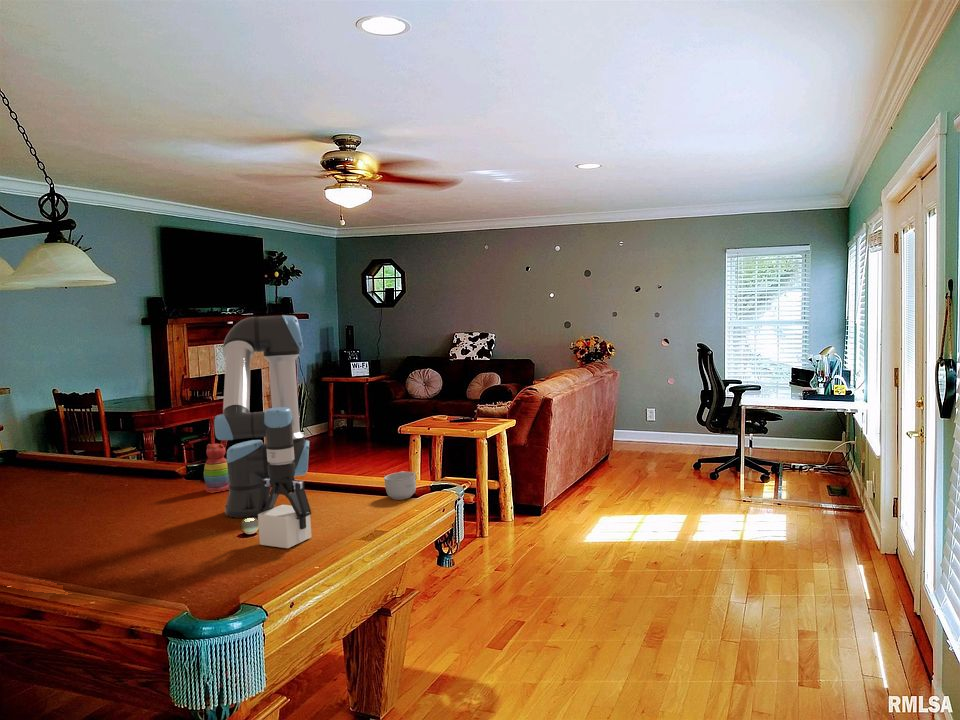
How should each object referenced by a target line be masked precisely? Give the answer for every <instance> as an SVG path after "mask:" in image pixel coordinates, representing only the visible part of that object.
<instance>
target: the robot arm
mask: <svg viewBox="0 0 960 720" xmlns="http://www.w3.org/2000/svg"><path fill="white" fill-rule="evenodd" d="M301 350H304V343H303V338H302V333H301V327H300V324H299V320H298V318H297V317H296V316H295V315H288V314H287V315H285V314H282V315H268V316H250V317H245V318H243V319H241V320H240V321H238V322H237V323H236V324H234V325H233V327H231V328H230V330H229V331H228V333H227V334H226V336H225V338H224V341H223V346H222V353H223V357H224V358H225V364H224V365H225V366H224V367H225V369H224V386H223V388H224V389H223V403H222V405H223V406H222V413H220V414H217V415H216V416H214V423H213V424H214V434H215V438H216V439H217V440H218V441H233V440H234V441H235V440H243V439H251V440H247V441H242V442H239V443H235V444H233V445H232V446H229V447H228V449H226V460H227V461H226V462H227V467H228V481H229V491H228V493H227V494H228V495H227V500H226V505H225V506H224V515H225V514H226V515H227V516H226V515H225V516H226V517H228V516H229V517H228V518H232V517H235V518H234V519H242V518H243V517H246V518H249V517H248V516H254V517H258V514H260V513H262V512H265V511H267V510H270V509H272V508H275V505H276V503H277V499H278V498H279V496H280V495H282V496H284V497H285V498H286V499H288V502H289V503H290V505H291V506H292V507H293V509H294V511H295V513H296V515H297V517H298V518H296V532H297V541H301V540H303V539H305V528H306V516H308V515H310V516H311V515H312V510H311V506H310V503H309V499H308V496H307V494H306V490H305V481H303V480H300V481H296V479H295V477H300V476H305V475H306V474H307V472H308V469H309V454H310V452H309V451H310V440H307V439H306V435H305V434H304V433H303V432H301V428H300V417H299V415H300V413H299V399H298V398H299V396H298V383H297V368H296V360H297V358H298V357H299V356H300V351H301ZM259 352H262V353H263V358H264V360H266V361H267V362H268V369H269V384H270V399H271V400H270V401H271V408H268V409H267V408H266V409H265V410H264V411H254V412H250V411H251V410H250V406H251V405H250V404H251V403H250V401H251V400H250V399H251V397H250V396H251V361H252V358H253V356H254V355H255V353H259ZM256 438H265V440H266V441H265V442H266V443H264V442H263V440H261V439H256ZM243 519H244V518H243Z"/></svg>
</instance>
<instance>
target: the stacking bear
mask: <svg viewBox="0 0 960 720" xmlns="http://www.w3.org/2000/svg"><path fill="white" fill-rule="evenodd" d="M205 453H206V457H207V458H208V459H207V460H206V461H205V463H204V469H203V479H204V482H205V486H206V487H205V491H206V490H208V491H223V490H228V489H229V481H228V467H227V462H226V461H227V458H226V457H225V455H226V453H227V449H226V447H225V446H224V445H223V443H213V444H211V443H208V444H207V445H206V451H205Z"/></svg>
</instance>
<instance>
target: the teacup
mask: <svg viewBox="0 0 960 720" xmlns="http://www.w3.org/2000/svg"><path fill="white" fill-rule="evenodd" d="M383 480H384V486H385V490H386V491H385V492H386V494H387V496H388V497H390V498H391V499H393V500H397V501H398V500H399V501H402V500H405V499H406V500H407V499H410V498H411V497H412V496H413V495H414V494H415V493H416V490H417V482H416V481H417V480H416V473H415V472H413V471H403V470H402V471H399V472H392V473H390V474H387V475H385V476H384V477H383Z"/></svg>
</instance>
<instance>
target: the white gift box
mask: <svg viewBox="0 0 960 720" xmlns="http://www.w3.org/2000/svg"><path fill="white" fill-rule="evenodd" d="M296 518H298V517H297V515H296V513H295V511H294V509H293V507H292V505H291V504H290V505H289V504H281V505H278V506H274V507H273V508H272V509H270V510H267V511H265V512H262V513H260V514H258V516H257V524H258V535H259V537H258V538H259V545H262V546H267V547H268V546H269V547H274V548H275V547H277V548H282V549H290V548H291V547H294V546H295V545H298V544H300V543H302V542H304V541H306V540H309V539H310V538H312V523H311V515H308V516H306V528H305V539H303V540H301V541H297V532H296Z"/></svg>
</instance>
